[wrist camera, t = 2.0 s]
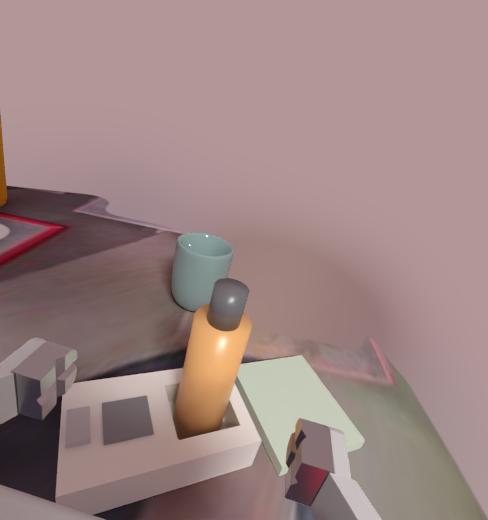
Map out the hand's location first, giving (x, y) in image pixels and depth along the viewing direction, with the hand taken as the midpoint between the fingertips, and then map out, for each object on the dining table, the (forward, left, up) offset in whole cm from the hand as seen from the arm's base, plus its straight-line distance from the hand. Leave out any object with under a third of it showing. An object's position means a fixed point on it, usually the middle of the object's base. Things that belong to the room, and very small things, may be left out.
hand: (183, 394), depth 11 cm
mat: (-10, +18, -18) cm, 27 cm away
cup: (-30, +12, -19) cm, 38 cm away
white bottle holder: (-10, +3, -18) cm, 21 cm away
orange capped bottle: (-10, +7, -17) cm, 21 cm away
